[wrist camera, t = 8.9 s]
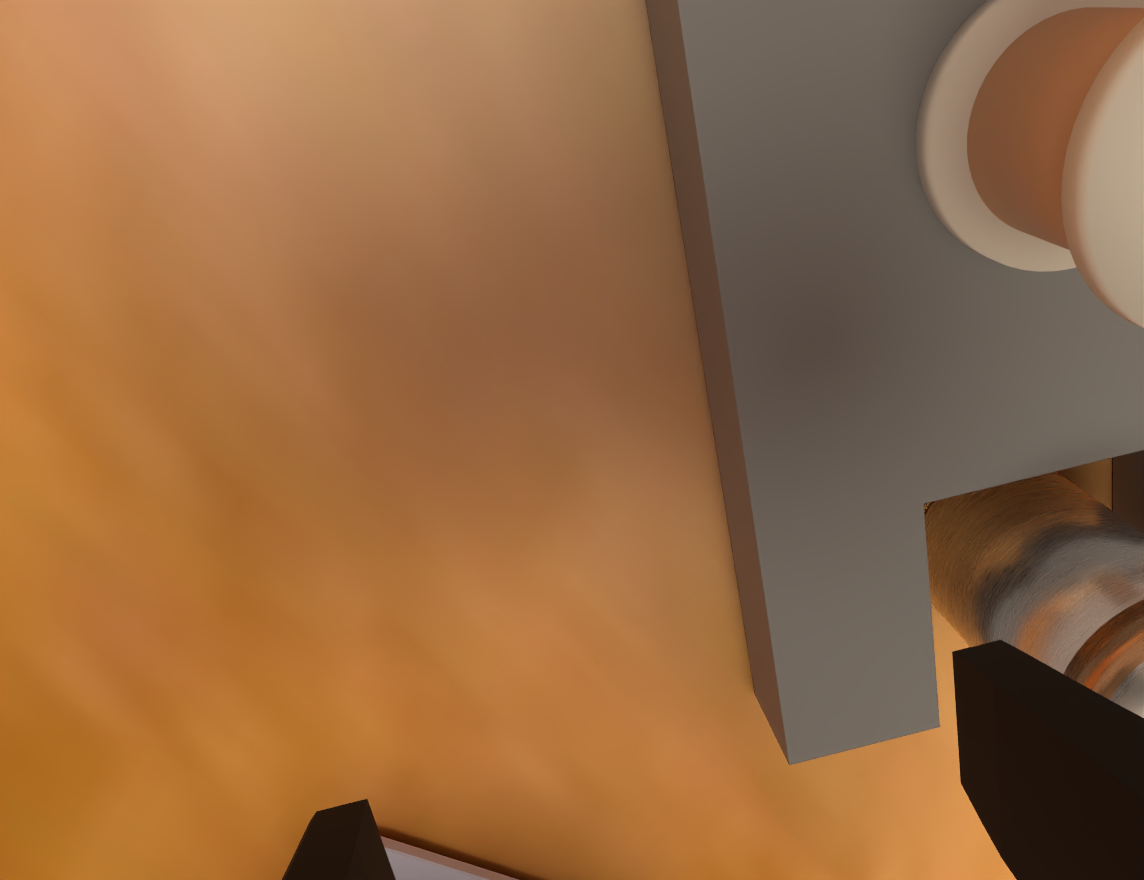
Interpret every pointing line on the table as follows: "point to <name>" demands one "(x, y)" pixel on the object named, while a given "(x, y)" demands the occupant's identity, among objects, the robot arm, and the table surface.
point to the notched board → (899, 303)
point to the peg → (1044, 580)
